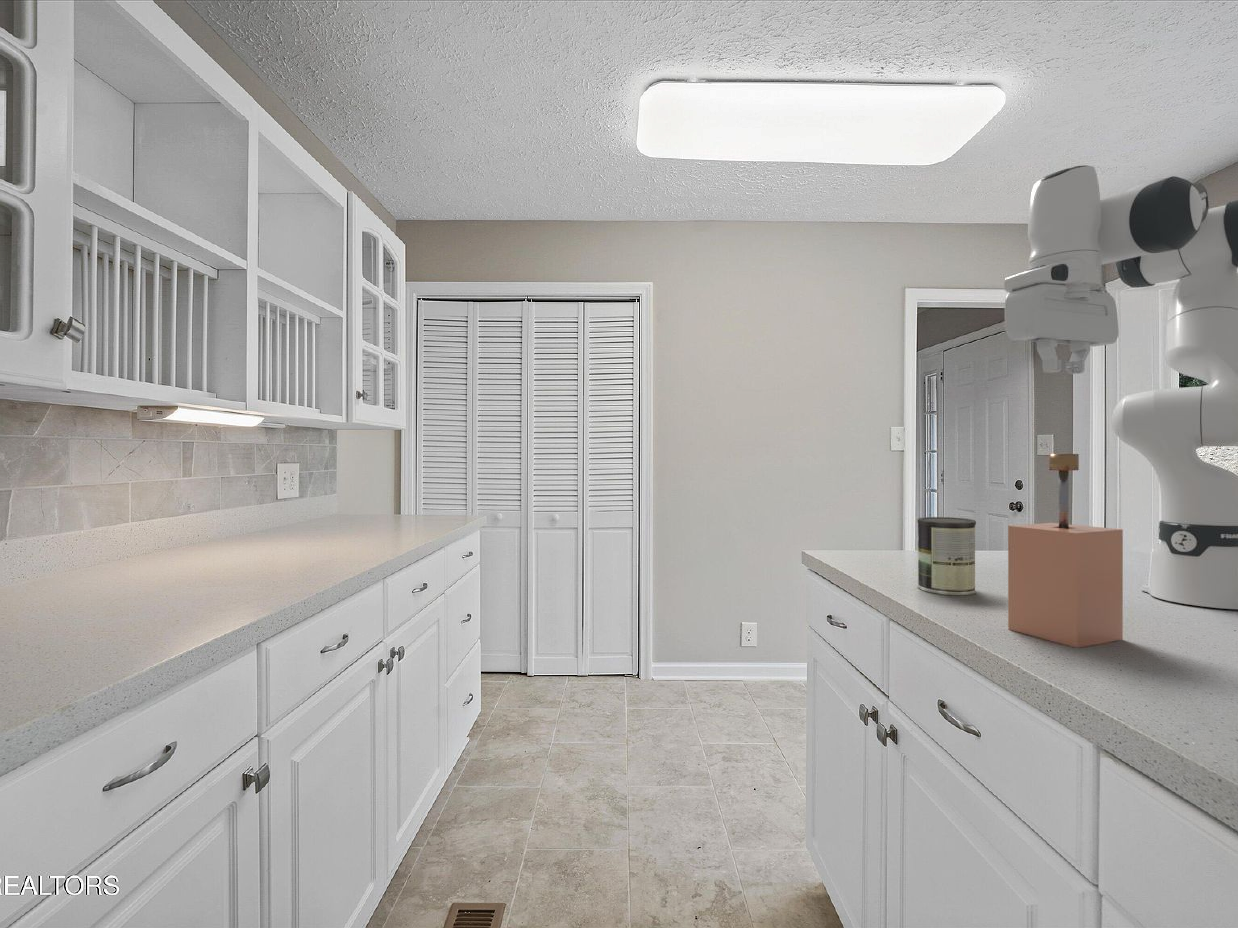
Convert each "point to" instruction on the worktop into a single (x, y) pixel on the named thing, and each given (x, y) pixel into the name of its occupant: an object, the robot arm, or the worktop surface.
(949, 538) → the coffee can
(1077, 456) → the plunger
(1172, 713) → the worktop surface
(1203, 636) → the worktop surface
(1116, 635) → the block
